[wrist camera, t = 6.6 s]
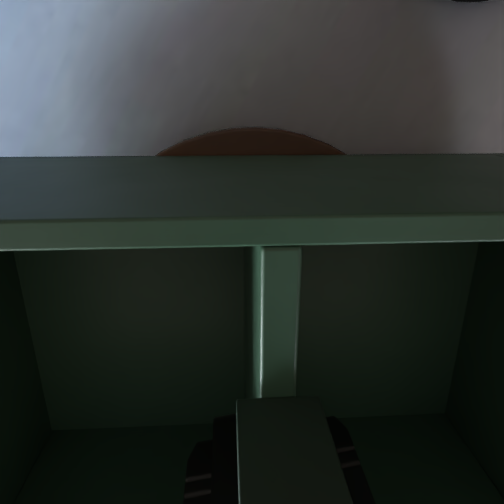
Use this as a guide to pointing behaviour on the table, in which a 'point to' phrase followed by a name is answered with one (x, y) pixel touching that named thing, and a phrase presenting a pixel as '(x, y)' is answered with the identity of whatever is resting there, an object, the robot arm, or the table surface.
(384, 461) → the bin
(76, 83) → the table surface
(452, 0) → the webcam
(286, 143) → the turntable
